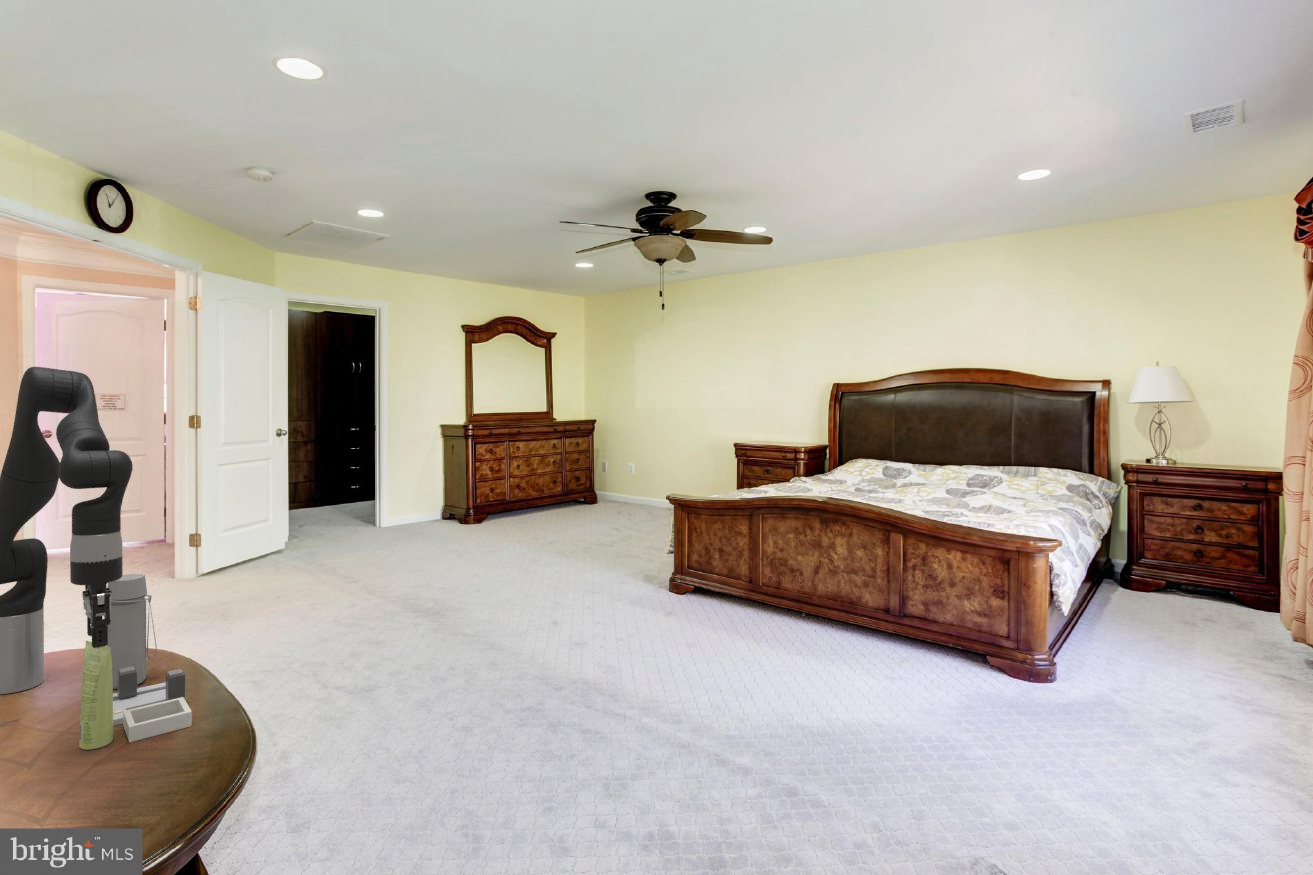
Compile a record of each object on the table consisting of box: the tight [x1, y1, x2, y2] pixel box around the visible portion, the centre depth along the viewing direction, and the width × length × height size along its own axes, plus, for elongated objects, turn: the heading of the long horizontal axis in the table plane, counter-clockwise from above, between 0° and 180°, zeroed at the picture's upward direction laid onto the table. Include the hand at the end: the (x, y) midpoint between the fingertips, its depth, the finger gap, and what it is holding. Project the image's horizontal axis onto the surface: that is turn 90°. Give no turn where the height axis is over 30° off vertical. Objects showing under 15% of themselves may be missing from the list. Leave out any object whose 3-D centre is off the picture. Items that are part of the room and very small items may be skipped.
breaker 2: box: [165, 668, 186, 701], centre depth 142 cm, size 3×3×6 cm
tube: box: [78, 640, 114, 751], centre depth 125 cm, size 6×5×20 cm
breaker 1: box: [116, 666, 138, 699], centre depth 143 cm, size 3×3×6 cm
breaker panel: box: [113, 681, 167, 727], centre depth 142 cm, size 15×12×2 cm
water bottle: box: [106, 573, 158, 690], centre depth 151 cm, size 9×8×25 cm
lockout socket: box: [122, 697, 193, 743], centre depth 133 cm, size 9×10×3 cm
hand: (97, 640), depth 124 cm, fingers open, 8 cm apart
